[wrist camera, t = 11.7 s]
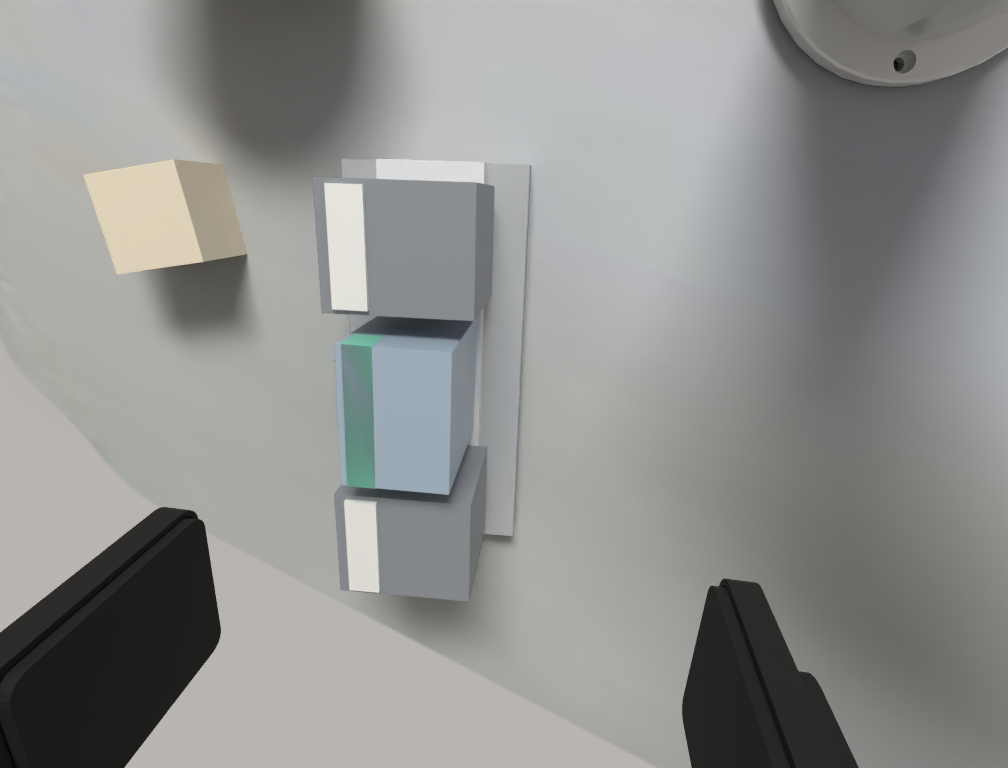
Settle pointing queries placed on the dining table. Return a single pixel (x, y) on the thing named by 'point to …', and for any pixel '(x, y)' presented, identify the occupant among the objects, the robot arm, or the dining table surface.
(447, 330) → the module
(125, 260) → the beige cube
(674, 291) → the dining table surface
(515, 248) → the rail fixture
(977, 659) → the dining table surface
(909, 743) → the dining table surface
